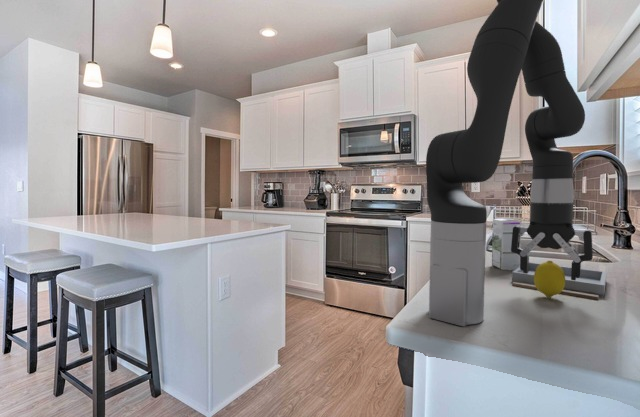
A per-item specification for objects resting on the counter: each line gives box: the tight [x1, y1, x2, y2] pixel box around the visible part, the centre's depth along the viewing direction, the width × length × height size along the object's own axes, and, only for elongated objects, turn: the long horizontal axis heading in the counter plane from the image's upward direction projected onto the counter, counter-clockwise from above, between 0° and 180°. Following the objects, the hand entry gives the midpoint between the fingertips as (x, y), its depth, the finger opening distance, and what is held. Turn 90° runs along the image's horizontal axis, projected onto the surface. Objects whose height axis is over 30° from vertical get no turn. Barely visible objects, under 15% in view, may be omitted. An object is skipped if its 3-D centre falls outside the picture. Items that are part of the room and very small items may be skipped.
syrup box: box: [491, 217, 522, 271], centre depth 100 cm, size 6×6×14 cm
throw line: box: [511, 282, 600, 301], centre depth 77 cm, size 2×16×1 cm, turn 49°
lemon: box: [534, 260, 565, 299], centre depth 72 cm, size 6×6×8 cm
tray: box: [511, 261, 608, 297], centre depth 85 cm, size 16×18×2 cm
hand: (548, 276), depth 72 cm, fingers open, 8 cm apart
